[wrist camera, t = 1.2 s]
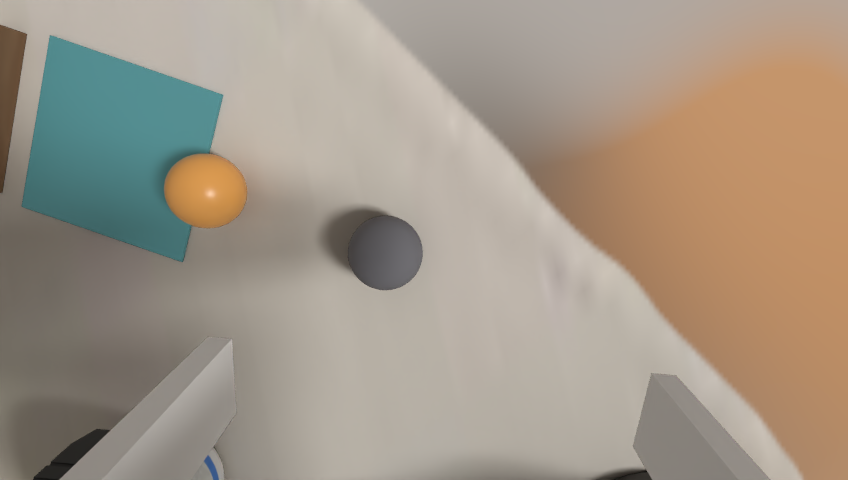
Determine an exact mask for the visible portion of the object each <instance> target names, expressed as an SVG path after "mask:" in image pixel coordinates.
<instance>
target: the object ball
mask: <svg viewBox="0 0 848 480" xmlns="http://www.w3.org/2000/svg"><path fill="white" fill-rule="evenodd" d="M164 195H165V199H166V202H167V204H168V206H169V208H170V209H171V211H172V212H173V213H174V214H175V215H176V216H177V217H178V218H179V219H181V220H182V221H183V222H185V223H187V224H189V225H192V226H195V227H199V228H216V227H220V226H223V225H225V224H228V223H229V222H231V221H233V220H234V219H235V218H236V217H237V216H238V215H239V214H240V213H241V211H242V210H243V208H244V206H245V203H246V199H247V186H246V182H245V180H244V177H243V175H242V174H241V172H240V171H239V170H238V168H237V167H236V166H235V165H233V164H232V163H231V162H230V161H228V160H226V159H225V158H222V157H220V156H217V155H213V154H194V155H190V156H187V157H185V158H183V159H181V160H180V161H178V162H177V163H176V164H175V165H174V166H173V167H172V168H171V169H170V171H169V172H168V174H167V176H166V179H165V183H164Z"/></svg>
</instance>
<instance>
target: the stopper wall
mask: <svg viewBox="0 0 848 480" xmlns="http://www.w3.org/2000/svg"><path fill="white" fill-rule="evenodd" d="M26 36H27V34H25V33H23V32H20V31H17V30H14V29H11V28H8V27H5V26H2V25H0V193H2V190H3V184H4V178H5V171H6V165H7V158H8V152H9V146H10V139H11V133H12V126H13V120H14V113H15V107H16V101H17V94H18V88H19V81H20V75H21V69H22V62H23V56H24V49H25V43H26Z"/></svg>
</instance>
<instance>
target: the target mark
mask: <svg viewBox="0 0 848 480" xmlns="http://www.w3.org/2000/svg"><path fill="white" fill-rule="evenodd" d="M222 98H223V95H222V94H219V93H216V92H213V91H210V90H207V89H204V88H202V87H199V86H196V85H193V84H190V83H187V82H184V81H181V80H178V79H176V78H173V77H170V76H167V75H164V74H161V73H158V72H155V71H152V70H149V69H147V68H144V67H141V66H138V65H135V64H132V63H129V62H126V61H123V60H121V59H118V58H115V57H112V56H109V55H106V54H103V53H100V52H97V51H95V50H92V49H89V48H86V47H83V46H80V45H77V44H74V43H71V42H69V41H66V40H63V39H60V38H57V37H54V36H51V35H50V38H49V44H48V50H47V56H46V62H45V68H44V74H43V80H42V86H41V93H40V99H39V105H38V111H37V117H36V123H35V129H34V135H33V141H32V147H31V153H30V159H29V165H28V171H27V177H26V183H25V189H24V195H23V201H22V207H24V208H27V209H30V210H33V211H36V212H39V213H41V214H44V215H47V216H50V217H53V218H56V219H59V220H62V221H65V222H68V223H70V224H73V225H76V226H79V227H82V228H85V229H88V230H91V231H94V232H96V233H99V234H102V235H105V236H108V237H111V238H114V239H117V240H120V241H123V242H125V243H128V244H131V245H134V246H137V247H140V248H143V249H146V250H149V251H152V252H154V253H157V254H160V255H163V256H166V257H169V258H172V259H175V260H178V261H181V262H183V260H184V255H185V251H186V247H187V243H188V239H189V235H190V231H191V226H192V225H189V224H187V223H185V222H183V221H182V220H181V219H179V218H178V217H177V216H176V215H175V214H174V213H173V212H172V211H171V209H170V208H169V206H168V204H167V202H166V199H165V195H164V183H165V179H166V176H167V174H168V172H169V171H170V169H171V168H172V167H173V166H174V165H175V164H176V163H177V162H178V161H180V160H181V159H183V158H185V157H187V156H190V155H194V154H209V152H210V148H211V144H212V139H213V135H214V131H215V127H216V123H217V119H218V115H219V110H220V106H221V102H222Z"/></svg>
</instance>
